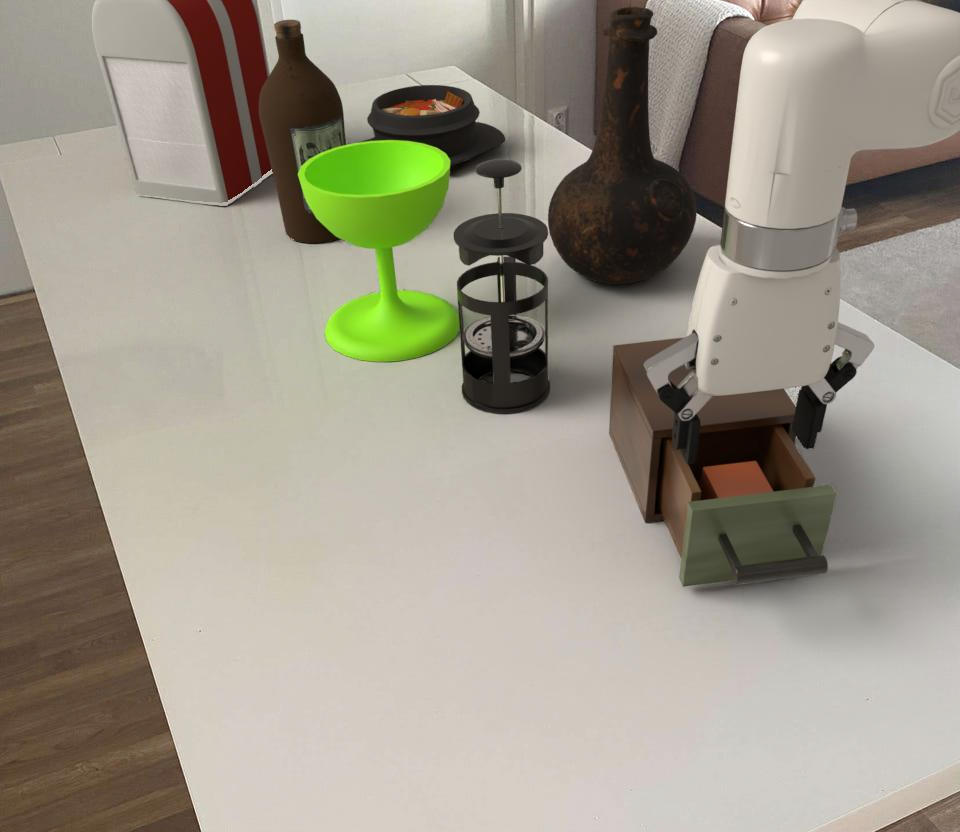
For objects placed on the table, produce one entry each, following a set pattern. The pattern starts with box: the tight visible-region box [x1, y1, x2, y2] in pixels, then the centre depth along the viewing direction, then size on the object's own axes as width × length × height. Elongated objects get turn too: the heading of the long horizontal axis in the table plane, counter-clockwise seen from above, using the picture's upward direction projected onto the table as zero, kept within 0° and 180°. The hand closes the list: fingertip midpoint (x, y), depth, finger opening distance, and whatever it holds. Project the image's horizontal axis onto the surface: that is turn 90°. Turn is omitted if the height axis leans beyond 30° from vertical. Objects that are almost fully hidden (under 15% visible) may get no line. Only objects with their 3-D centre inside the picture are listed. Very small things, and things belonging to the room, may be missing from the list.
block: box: [700, 461, 774, 500], centre depth 84 cm, size 5×5×5 cm
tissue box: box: [91, 0, 272, 203], centre depth 144 cm, size 16×18×27 cm
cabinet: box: [608, 336, 797, 524], centre depth 92 cm, size 15×13×10 cm
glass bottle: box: [547, 6, 698, 285], centre depth 116 cm, size 18×18×28 cm
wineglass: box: [298, 140, 460, 363], centre depth 111 cm, size 16×16×18 cm
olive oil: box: [259, 19, 347, 244], centre depth 130 cm, size 11×11×25 cm
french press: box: [453, 158, 551, 414], centre depth 99 cm, size 12×9×23 cm
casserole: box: [357, 84, 506, 167], centre depth 153 cm, size 25×19×8 cm
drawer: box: [656, 424, 838, 588], centre depth 83 cm, size 19×11×8 cm, turn 8°
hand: (744, 446), depth 80 cm, fingers open, 9 cm apart
